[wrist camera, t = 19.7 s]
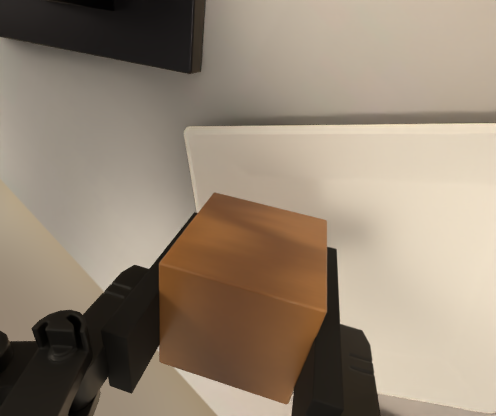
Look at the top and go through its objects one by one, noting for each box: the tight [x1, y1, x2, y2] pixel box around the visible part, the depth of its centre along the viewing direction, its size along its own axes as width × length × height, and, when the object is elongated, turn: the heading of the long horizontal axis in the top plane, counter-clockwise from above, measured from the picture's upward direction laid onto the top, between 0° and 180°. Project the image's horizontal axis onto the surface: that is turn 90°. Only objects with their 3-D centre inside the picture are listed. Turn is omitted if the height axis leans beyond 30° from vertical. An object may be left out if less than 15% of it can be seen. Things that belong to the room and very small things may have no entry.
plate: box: [184, 123, 496, 414], centre depth 18 cm, size 19×19×2 cm
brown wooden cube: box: [159, 192, 327, 404], centre depth 12 cm, size 5×5×5 cm
